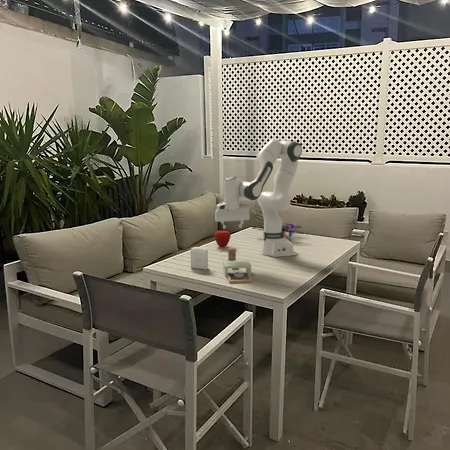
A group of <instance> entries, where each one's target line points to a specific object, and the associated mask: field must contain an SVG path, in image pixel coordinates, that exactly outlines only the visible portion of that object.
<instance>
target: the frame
mask: <svg viewBox="0 0 450 450" xmlns="http://www.w3.org/2000/svg"><path fill="white" fill-rule="evenodd" d="M226 278H227V280H228V282H229V284H241V283H253V278H252V275H251V276H250V274H247V278H248V279H232V278H231V276H230V275H229V274H228V275H227V277H226Z"/></svg>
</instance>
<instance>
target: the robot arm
mask: <svg viewBox="0 0 450 450" xmlns="http://www.w3.org/2000/svg"><path fill="white" fill-rule="evenodd" d="M302 154H303V146H302V144H301V143H299V142H298V141H293V140H292V141H291V140H287V139H285V140H281V139H278V140H277V139H276V138H275V139H270V140H269V141H268V142H267V143H266V144H265V145H264V146H263V147H262V148H261V150H259V152H258V154H257V155H256V156H255V157H256V158H255V163H256V165H257V166H258V168H260V171H259V172H258V174H257V175H256V178H255V179H254V180H253V181H245V180H242V179H240V178H238V177H237V176H235V175H233V176H228V177H226V178H225V179H224V180H223V195H224V199H223V201H222V202H220V203H218V204H216V209H215V212H214V220H215V222H217V223H218V222H219V223H220V224H222V228H223V229H225V230H226V229H227V225H225V222H236V221H240V224H238V227H239V229H242V228H243V225H244V222H245V221H249V220H250V210H251V209H250V207H251V206H250V205H249V204H247V203H245V204H244V203H243V204H242V203H241V204H240V198H243V199H248V200H250V201H256V200H257V201H256V202H257V204H258V205H259V207H260V209H261V212H262V216H263V226H264V231H262V232H263V233H262V240H263V243H262V248H261V249H262V250H261V252H260V253H261V254H262V255H265V256H268V257H274V258H279V257H289V256H297V254H298V252H297V250H296V249H294V245H293V243H292V242H291V241H289V239H288V238H286V237H287V235H288V234H287V232H285V233H284V232H282V223H283V220H282V217H281V215H279V212H285V211H287V210H288V209H289V208H290V206H291V200H290V196H289V192H290V187H291V184H292V182H293V179H294V178H295V175H296V173H297V169H298V165H299V159H300V158H301V155H302ZM278 158H279V159H281V163H280V165H279V166H278V168H277V170H276V173H275V175H274V177H273V180H272V183H273V185H274V187H273V191H263V189H264V187H265V185H266V184H267V183H266V182H267V181H268V179H269V178H270V176H271V175H272V172H273V169H274V164H275V163H276V162H277V160H278ZM223 229H222V230H223Z"/></svg>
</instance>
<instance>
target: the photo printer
mask: <svg viewBox="0 0 450 450" xmlns="http://www.w3.org/2000/svg"><path fill="white" fill-rule="evenodd" d="M190 268H191V269H198V270H208V269H209V250H208V249H206V248H205V247H200V246H195V247H191V248H190Z"/></svg>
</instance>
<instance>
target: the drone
mask: <svg viewBox="0 0 450 450" xmlns="http://www.w3.org/2000/svg"><path fill="white" fill-rule="evenodd" d="M302 227H303V226H302V225H299V224H297V223H291V222H282V232H284V233H287V234H289V235H288V236H289V238H288V240H289V241H290V242H291V238H292V237H293V235H298V234H299V235H300V234H301V235H304V234H305V232H303V231H299V230H298V229H302ZM252 230H256V231H260V232H261V231H262V232H263V231H264V225H263V226H262V225H261V226H260V227H256V226H252Z"/></svg>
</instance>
